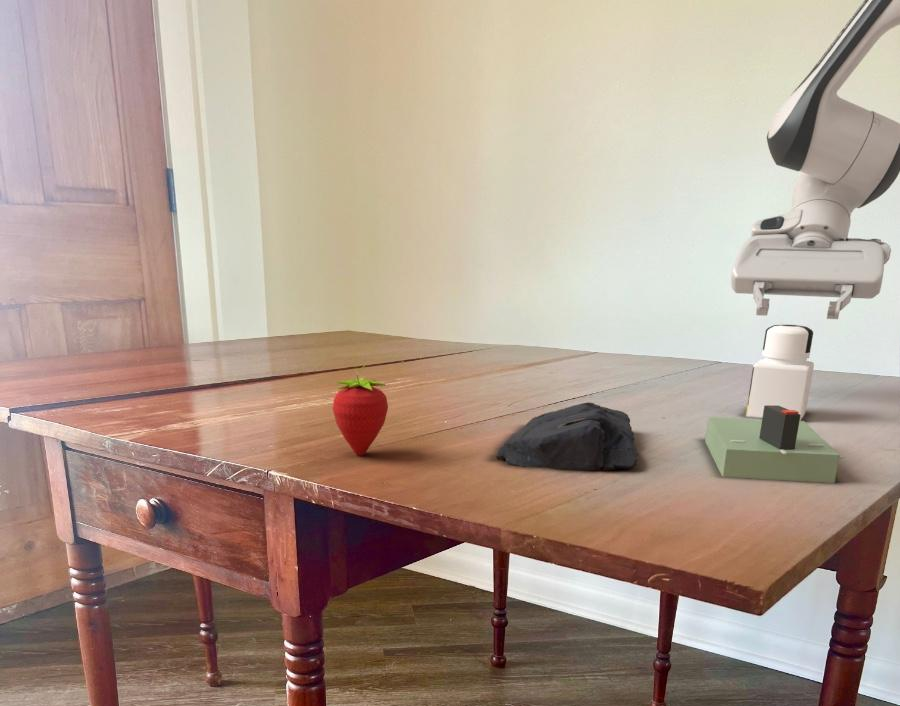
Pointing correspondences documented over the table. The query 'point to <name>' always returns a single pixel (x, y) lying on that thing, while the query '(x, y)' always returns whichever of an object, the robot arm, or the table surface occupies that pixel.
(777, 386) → the medicine bottle
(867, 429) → the table surface
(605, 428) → the dark slate chunk
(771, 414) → the dark grey block
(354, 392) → the strawberry
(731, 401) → the table surface
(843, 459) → the table surface
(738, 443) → the console
